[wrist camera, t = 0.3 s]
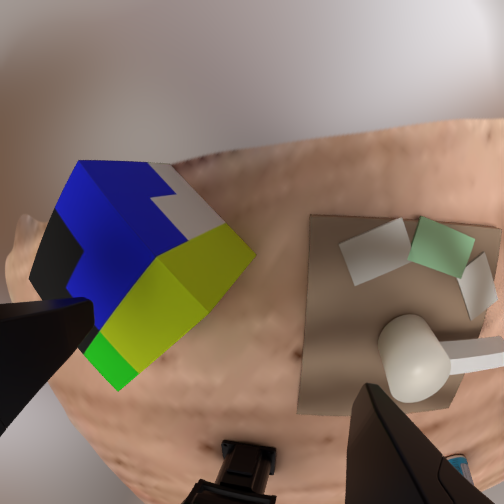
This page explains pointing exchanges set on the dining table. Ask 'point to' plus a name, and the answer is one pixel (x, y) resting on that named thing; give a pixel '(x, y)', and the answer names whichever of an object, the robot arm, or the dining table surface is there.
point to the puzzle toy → (136, 260)
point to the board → (388, 300)
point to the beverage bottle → (461, 466)
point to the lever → (430, 357)
